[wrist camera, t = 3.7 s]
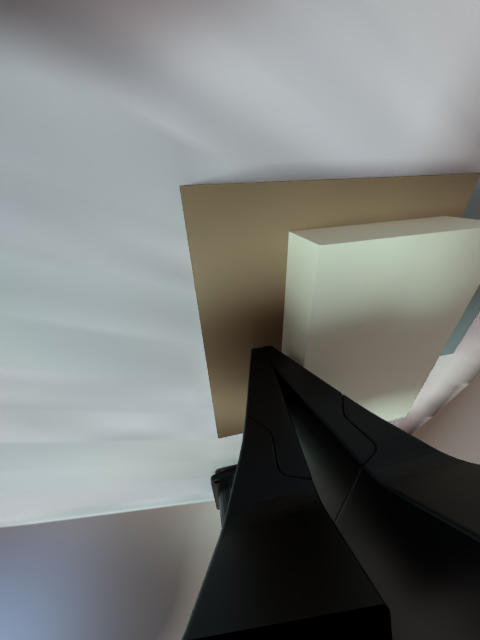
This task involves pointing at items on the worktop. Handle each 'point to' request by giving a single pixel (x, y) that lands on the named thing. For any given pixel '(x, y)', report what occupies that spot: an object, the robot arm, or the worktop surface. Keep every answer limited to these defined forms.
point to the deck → (280, 257)
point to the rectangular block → (378, 304)
